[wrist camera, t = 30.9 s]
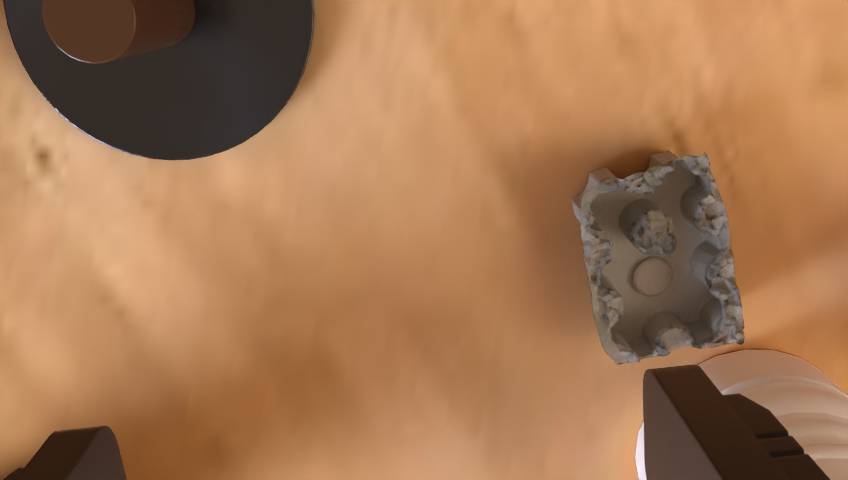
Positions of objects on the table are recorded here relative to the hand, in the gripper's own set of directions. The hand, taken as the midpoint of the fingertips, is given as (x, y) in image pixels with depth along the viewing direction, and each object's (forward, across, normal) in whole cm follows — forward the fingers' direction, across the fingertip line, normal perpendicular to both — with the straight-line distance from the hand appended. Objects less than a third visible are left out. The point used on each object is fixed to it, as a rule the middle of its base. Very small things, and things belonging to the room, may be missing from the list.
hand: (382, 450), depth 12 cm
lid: (+30, +10, -7) cm, 32 cm away
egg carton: (+30, -13, +8) cm, 34 cm away
